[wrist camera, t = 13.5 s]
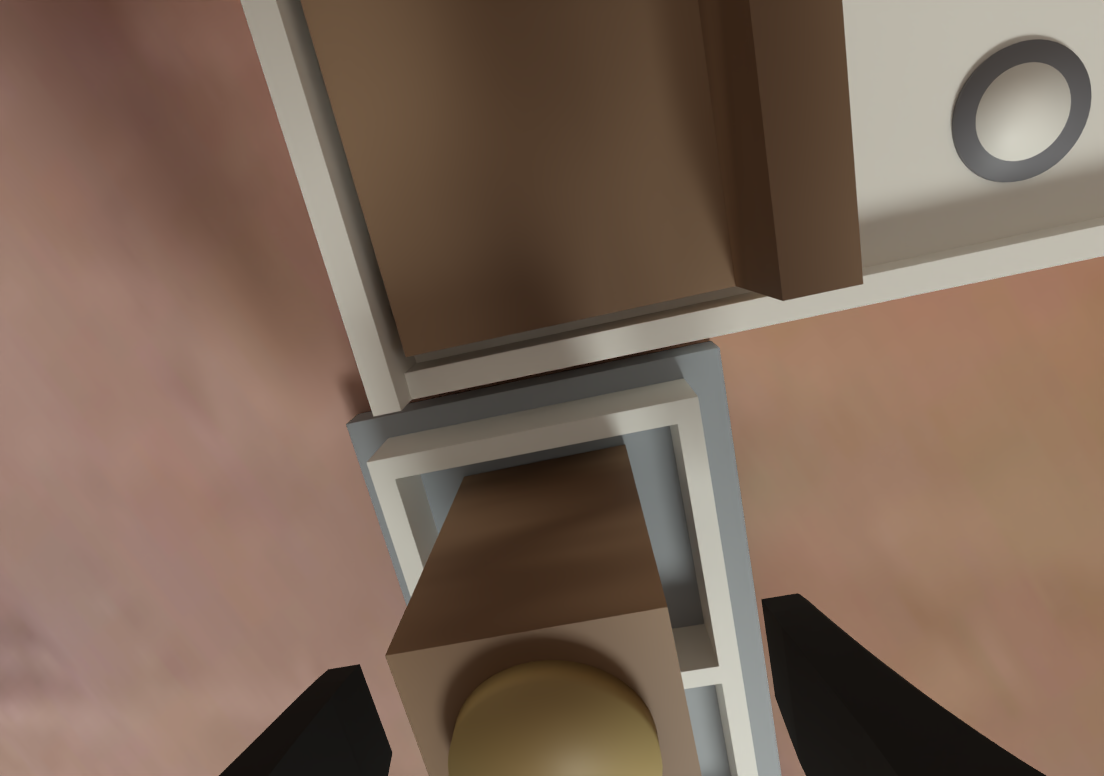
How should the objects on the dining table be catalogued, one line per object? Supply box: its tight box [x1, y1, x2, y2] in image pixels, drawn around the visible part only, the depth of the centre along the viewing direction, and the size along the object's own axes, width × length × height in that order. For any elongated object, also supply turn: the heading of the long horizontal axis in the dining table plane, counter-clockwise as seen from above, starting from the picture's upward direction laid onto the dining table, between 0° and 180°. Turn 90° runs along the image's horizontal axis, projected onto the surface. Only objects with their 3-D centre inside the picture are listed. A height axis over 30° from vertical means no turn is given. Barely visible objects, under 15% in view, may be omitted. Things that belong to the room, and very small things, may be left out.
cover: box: [300, 0, 863, 357], centre depth 9 cm, size 8×9×4 cm
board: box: [240, 0, 1104, 417], centre depth 11 cm, size 18×11×3 cm, turn 103°
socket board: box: [346, 341, 781, 776], centre depth 15 cm, size 9×15×2 cm, turn 13°
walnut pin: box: [385, 445, 702, 776], centre depth 11 cm, size 4×4×6 cm
